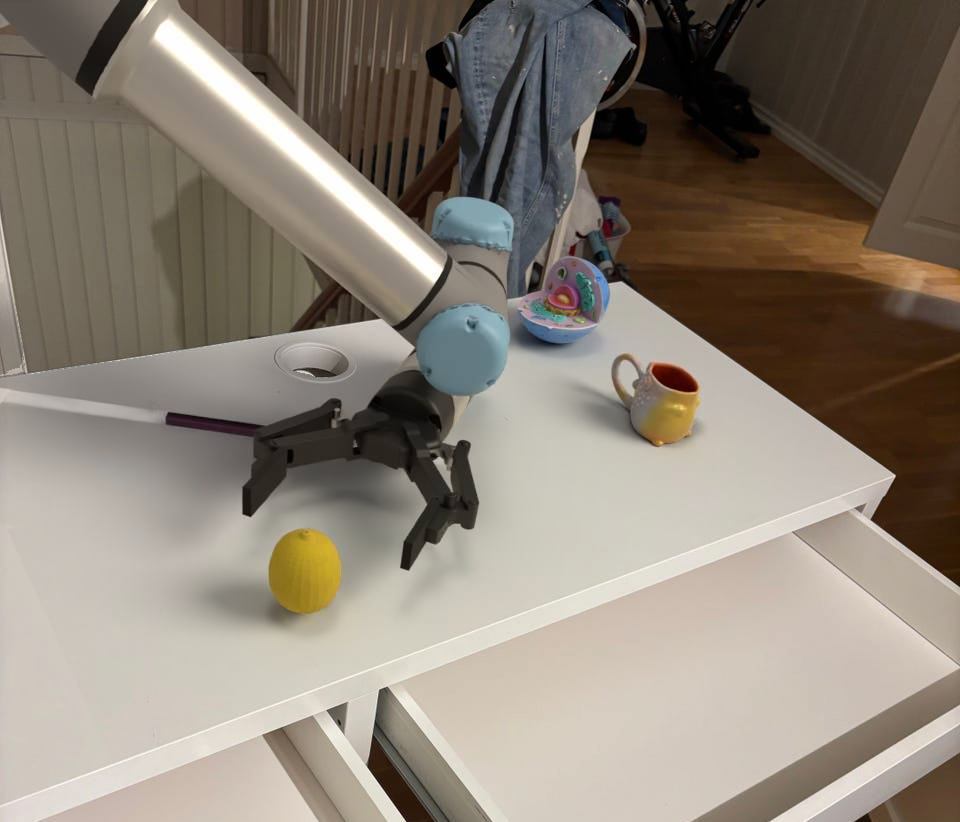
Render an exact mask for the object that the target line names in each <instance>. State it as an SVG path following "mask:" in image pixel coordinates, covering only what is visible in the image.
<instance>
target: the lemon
mask: <svg viewBox="0 0 960 822" xmlns="http://www.w3.org/2000/svg"><path fill="white" fill-rule="evenodd" d="M267 571H268V583H269V588H270V591H271V593H272V594H273V597H274V598H275V600H276V601H277V602H278V603H279V604H280V605H281V606H282V607H283V608H284V609H286V610H288V611H290V612H293V613H296V614H299V615H309V614H310V615H311V614H314V613H318V612H320V611H321V610H323V609H325V608H326V607H328V606H329V604H330V603H332V601H333V600H334V599H335V597H336V595H337V593H338V591H339V588H340V585H341V579H342V563H341V559H340V556H339V552H338V549H337V547H336V545H335V544H334V542H333V541H332V540H331V539H330V538H329V536H327V535H325V534H324V533H322V532H320V531H319V530H316V529H313V528H297V529H294V530H292V531H289V532H288V533H286V534H284V535H283V536H282V537H281V538H280V539H279V540H278V542H276V544H275V546H274V548H273V550H272V553H271V556H270V559H269V563H268V570H267Z"/></svg>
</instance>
